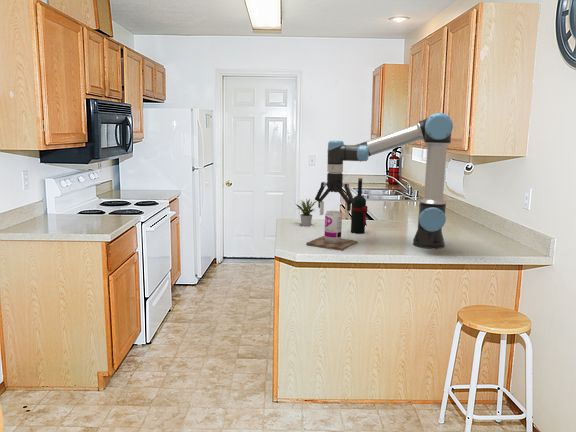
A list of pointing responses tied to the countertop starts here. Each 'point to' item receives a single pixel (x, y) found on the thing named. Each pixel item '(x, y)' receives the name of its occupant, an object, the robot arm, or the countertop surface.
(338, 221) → the supplement can
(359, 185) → the wine bottle
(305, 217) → the house plant
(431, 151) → the robot arm
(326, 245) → the walnut board
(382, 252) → the countertop surface
